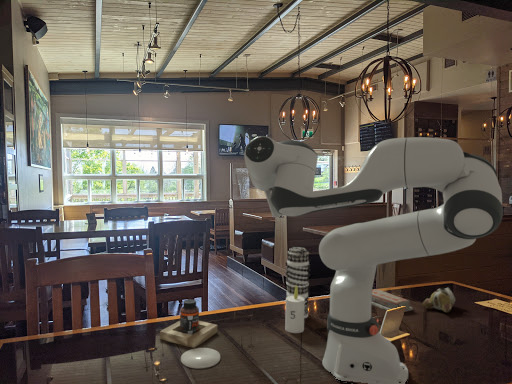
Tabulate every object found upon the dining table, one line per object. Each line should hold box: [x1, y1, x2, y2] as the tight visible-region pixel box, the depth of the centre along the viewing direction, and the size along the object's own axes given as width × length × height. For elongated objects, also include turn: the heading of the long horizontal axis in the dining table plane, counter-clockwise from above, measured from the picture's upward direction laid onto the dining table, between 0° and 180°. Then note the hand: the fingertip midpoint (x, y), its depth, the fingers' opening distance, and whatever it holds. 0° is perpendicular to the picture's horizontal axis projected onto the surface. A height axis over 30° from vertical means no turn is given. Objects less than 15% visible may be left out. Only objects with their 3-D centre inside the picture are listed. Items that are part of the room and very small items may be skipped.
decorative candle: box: [284, 246, 311, 319], centre depth 145 cm, size 9×9×25 cm
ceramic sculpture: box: [420, 287, 456, 313], centre depth 154 cm, size 11×9×15 cm
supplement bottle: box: [179, 298, 200, 335], centre depth 125 cm, size 6×6×11 cm
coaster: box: [180, 347, 221, 370], centre depth 110 cm, size 11×11×1 cm
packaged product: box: [371, 288, 413, 313], centre depth 158 cm, size 18×5×10 cm
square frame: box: [159, 320, 218, 349], centre depth 125 cm, size 13×13×2 cm
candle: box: [284, 285, 305, 334], centre depth 131 cm, size 6×6×15 cm
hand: (270, 191), depth 120 cm, fingers open, 8 cm apart
